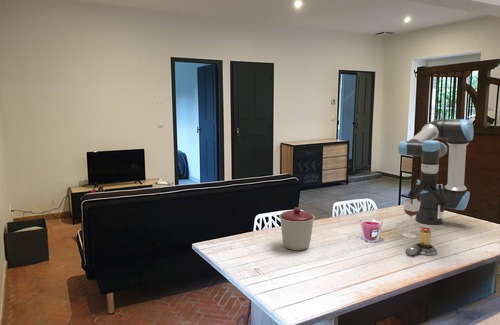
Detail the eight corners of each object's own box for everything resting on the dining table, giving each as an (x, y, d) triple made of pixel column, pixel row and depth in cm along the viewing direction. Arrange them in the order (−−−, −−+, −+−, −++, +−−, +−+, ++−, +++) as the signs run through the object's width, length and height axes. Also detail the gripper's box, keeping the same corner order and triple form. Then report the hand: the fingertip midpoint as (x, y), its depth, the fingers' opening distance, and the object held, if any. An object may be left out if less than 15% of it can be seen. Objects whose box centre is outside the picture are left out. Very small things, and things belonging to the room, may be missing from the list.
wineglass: (416, 239, 201) (418, 203, 198) (399, 235, 206) (401, 201, 203) (419, 235, 208) (421, 200, 205) (403, 231, 213) (405, 198, 210)
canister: (313, 255, 180) (314, 213, 177) (276, 252, 184) (277, 211, 180) (314, 241, 197) (315, 203, 194) (281, 239, 201) (281, 202, 198)
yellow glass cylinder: (422, 246, 188) (424, 226, 186) (431, 249, 184) (433, 229, 182) (416, 248, 185) (418, 228, 184) (425, 251, 181) (427, 230, 180)
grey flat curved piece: (420, 244, 193) (420, 237, 192) (442, 252, 183) (442, 245, 182) (398, 251, 184) (398, 244, 183) (419, 260, 173) (420, 252, 173)
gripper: (402, 169, 187) (399, 209, 191) (450, 177, 166) (446, 222, 170) (411, 167, 191) (409, 207, 194) (459, 175, 170) (455, 219, 173)
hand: (426, 214), depth 182 cm, fingers open, 13 cm apart
